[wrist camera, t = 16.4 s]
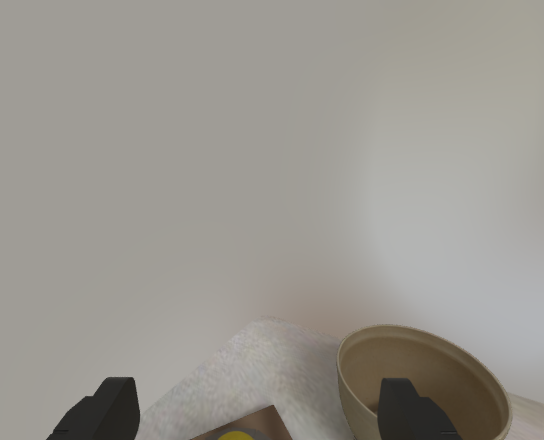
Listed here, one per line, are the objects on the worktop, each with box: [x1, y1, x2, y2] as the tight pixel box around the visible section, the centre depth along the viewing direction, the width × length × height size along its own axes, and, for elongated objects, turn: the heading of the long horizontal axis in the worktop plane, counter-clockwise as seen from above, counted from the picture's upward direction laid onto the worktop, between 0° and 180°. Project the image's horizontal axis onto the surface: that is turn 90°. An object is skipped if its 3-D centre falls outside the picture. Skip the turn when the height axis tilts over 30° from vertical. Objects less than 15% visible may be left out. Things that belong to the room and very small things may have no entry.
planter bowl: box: [337, 325, 512, 440], centre depth 31 cm, size 16×16×11 cm
